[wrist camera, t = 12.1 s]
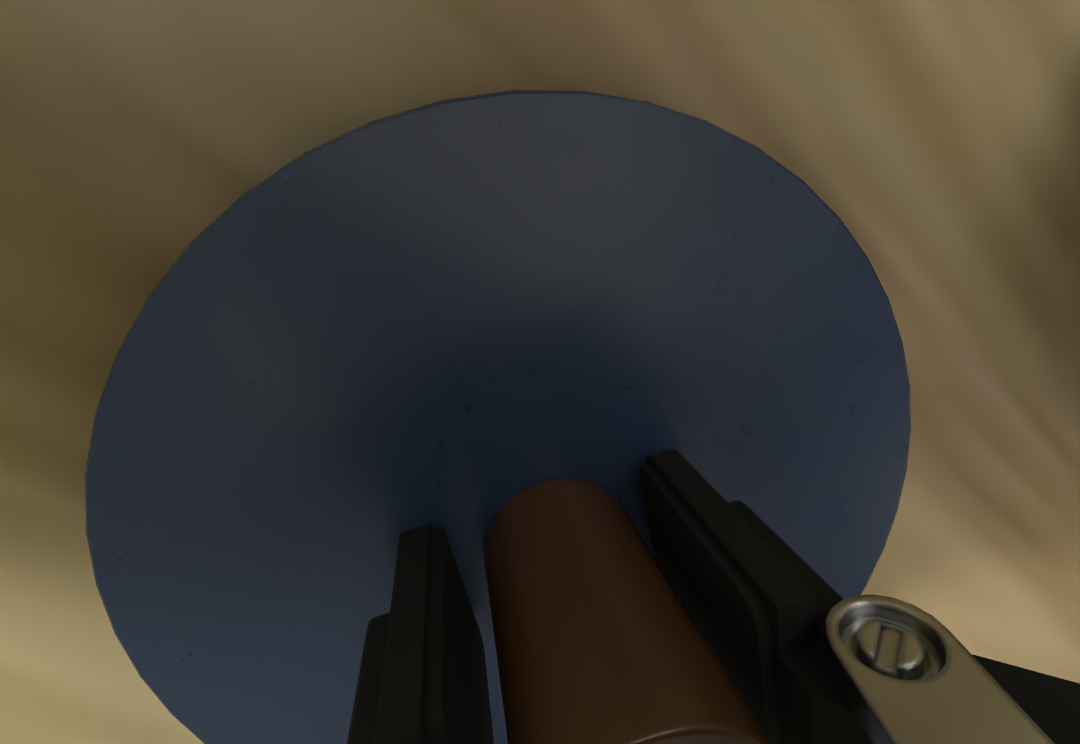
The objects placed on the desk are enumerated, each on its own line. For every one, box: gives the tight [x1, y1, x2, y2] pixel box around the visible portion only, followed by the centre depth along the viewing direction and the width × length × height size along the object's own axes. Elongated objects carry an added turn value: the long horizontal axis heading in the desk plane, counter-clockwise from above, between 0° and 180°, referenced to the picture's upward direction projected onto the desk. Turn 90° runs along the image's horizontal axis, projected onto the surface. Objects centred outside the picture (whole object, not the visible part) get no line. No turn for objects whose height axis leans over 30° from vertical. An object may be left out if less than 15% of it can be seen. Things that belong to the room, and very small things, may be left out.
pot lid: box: [85, 90, 911, 744], centre depth 8 cm, size 16×16×6 cm
